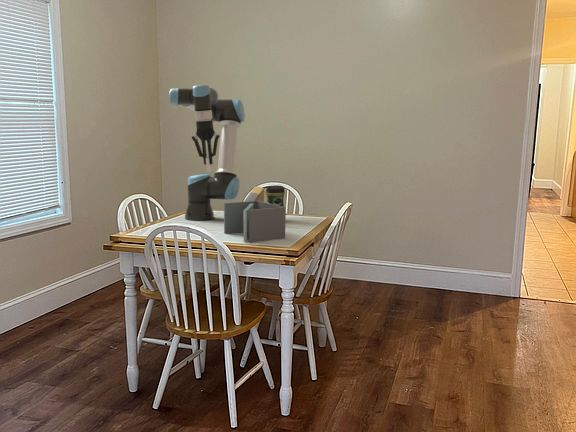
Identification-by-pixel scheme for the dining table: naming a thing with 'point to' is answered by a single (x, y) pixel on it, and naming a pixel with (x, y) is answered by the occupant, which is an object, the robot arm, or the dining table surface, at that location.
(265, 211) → the charcoal box
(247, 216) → the side door
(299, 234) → the dining table surface
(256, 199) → the sandwich container
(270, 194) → the coffee jar
